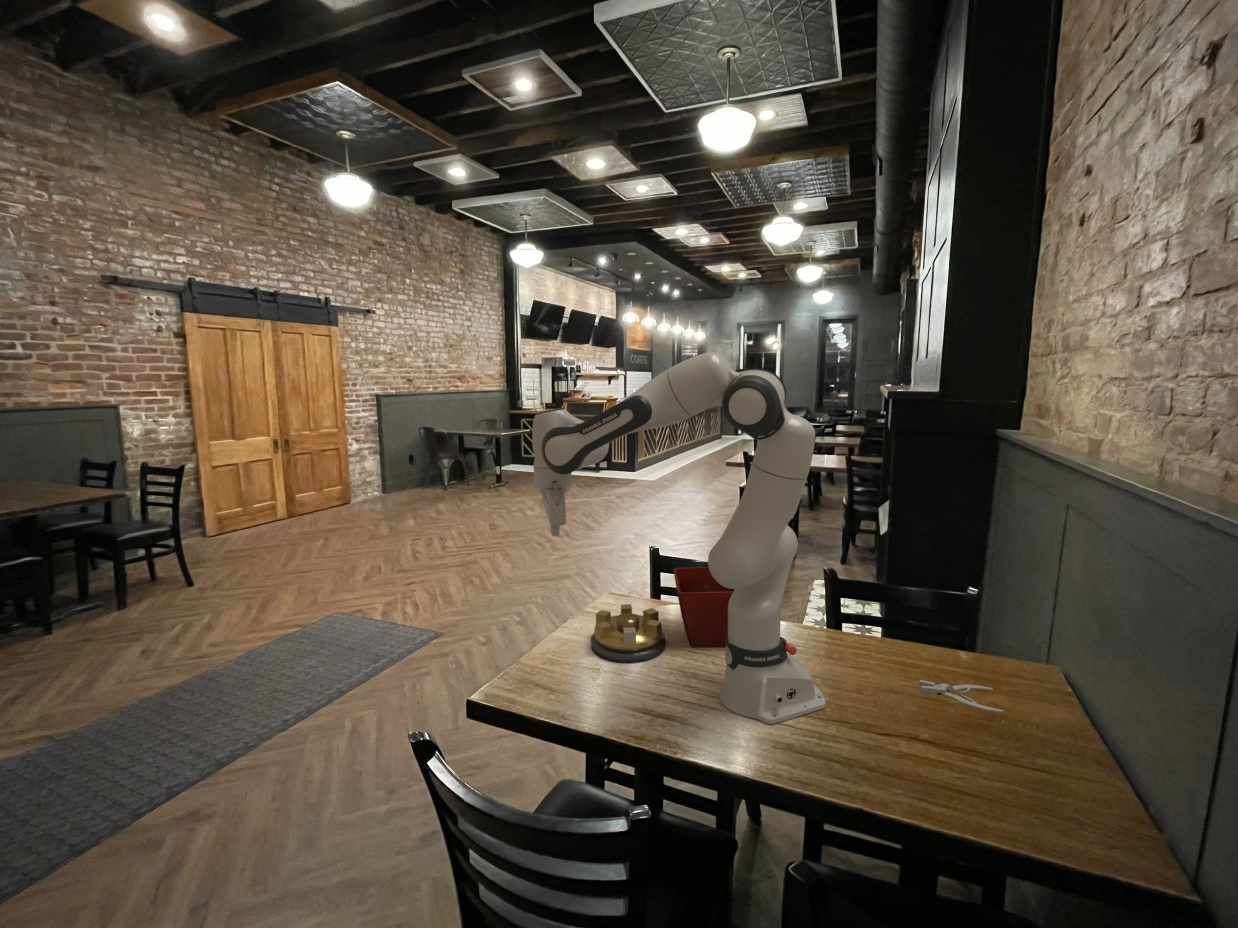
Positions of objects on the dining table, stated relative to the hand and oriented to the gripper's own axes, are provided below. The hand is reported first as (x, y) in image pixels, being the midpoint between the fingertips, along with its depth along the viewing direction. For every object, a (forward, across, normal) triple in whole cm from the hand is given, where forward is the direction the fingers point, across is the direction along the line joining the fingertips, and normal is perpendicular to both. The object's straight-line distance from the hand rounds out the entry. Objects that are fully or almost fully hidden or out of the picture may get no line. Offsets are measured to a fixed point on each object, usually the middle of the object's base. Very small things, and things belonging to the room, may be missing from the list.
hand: (555, 534), depth 135 cm
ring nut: (+32, +8, -19) cm, 38 cm away
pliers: (+35, -33, -85) cm, 97 cm away
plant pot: (+34, +7, -42) cm, 55 cm away
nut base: (+34, +8, -19) cm, 40 cm away
